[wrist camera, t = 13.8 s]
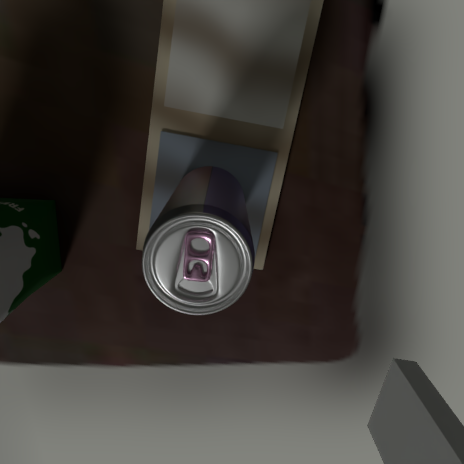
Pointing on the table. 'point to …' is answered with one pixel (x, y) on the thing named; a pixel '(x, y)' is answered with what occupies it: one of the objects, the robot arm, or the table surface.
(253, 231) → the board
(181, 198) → the beverage can
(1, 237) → the milk carton
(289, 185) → the table surface
